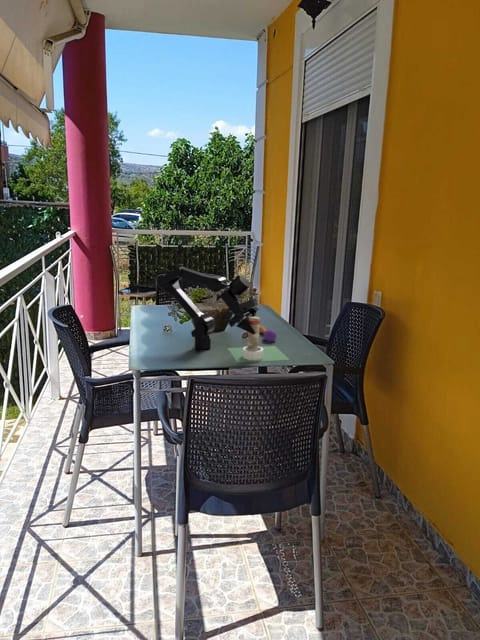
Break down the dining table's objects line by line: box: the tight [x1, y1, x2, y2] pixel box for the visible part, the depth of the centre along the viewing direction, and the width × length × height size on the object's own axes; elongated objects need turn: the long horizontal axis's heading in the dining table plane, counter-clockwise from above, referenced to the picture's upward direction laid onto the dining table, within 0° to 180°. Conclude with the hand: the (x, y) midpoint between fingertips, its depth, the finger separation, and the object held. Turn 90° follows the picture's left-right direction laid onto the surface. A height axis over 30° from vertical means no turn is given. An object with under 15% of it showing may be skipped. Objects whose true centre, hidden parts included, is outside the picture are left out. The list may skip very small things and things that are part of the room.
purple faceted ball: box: [259, 325, 277, 343], centre depth 223 cm, size 6×6×20 cm
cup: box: [242, 345, 264, 360], centre depth 192 cm, size 8×8×4 cm
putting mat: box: [227, 345, 291, 363], centre depth 196 cm, size 22×19×1 cm
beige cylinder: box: [247, 316, 261, 349], centre depth 190 cm, size 4×4×12 cm
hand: (256, 332), depth 189 cm, fingers closed on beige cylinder, 4 cm apart
